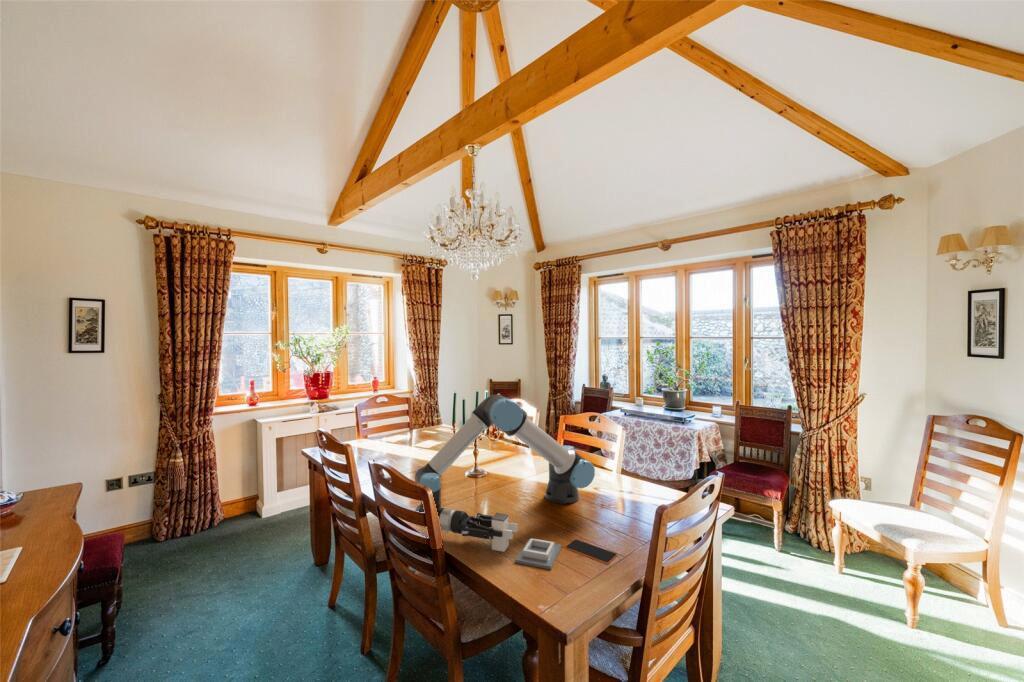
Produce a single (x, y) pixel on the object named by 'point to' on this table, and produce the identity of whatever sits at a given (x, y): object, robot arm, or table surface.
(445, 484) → the table surface
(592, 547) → the smartphone
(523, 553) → the dock
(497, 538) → the block
